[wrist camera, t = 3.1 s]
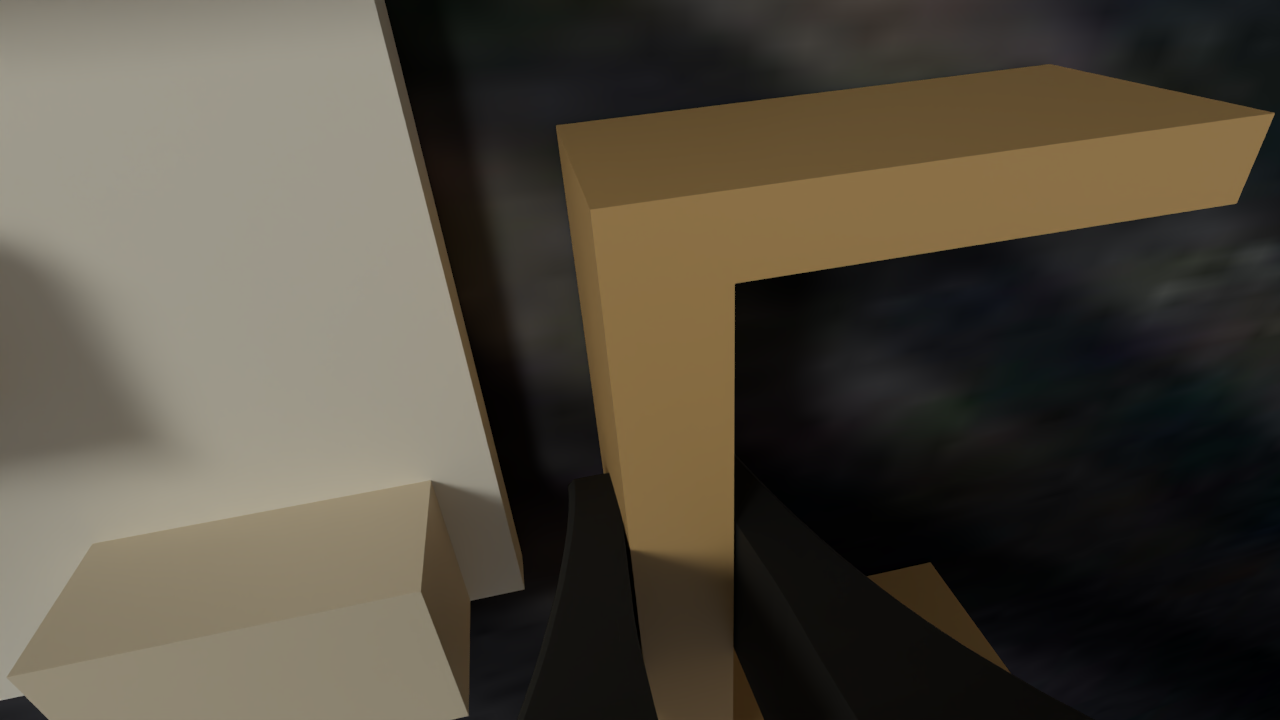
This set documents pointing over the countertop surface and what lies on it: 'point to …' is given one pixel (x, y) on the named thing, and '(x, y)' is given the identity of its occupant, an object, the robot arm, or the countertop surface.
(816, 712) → the robot arm
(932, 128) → the tan u-shaped clamp
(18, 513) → the display stand
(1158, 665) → the countertop surface
